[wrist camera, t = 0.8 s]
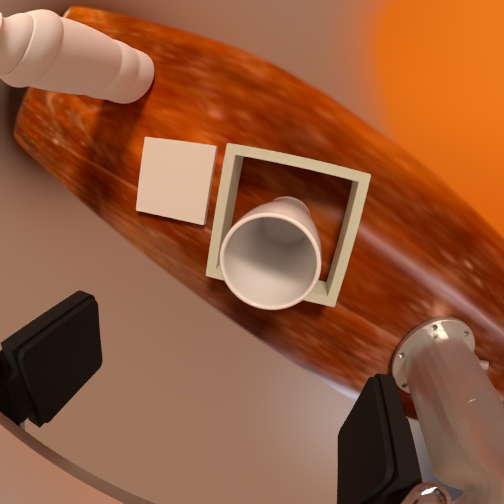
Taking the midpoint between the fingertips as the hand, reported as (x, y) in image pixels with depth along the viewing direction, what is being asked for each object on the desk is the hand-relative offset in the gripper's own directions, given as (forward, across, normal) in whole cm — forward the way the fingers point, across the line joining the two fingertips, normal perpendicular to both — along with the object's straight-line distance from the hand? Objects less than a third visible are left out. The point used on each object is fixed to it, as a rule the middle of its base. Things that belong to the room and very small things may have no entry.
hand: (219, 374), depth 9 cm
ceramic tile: (+26, +14, -2) cm, 29 cm away
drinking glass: (+26, 0, 0) cm, 26 cm away
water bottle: (+26, +22, -14) cm, 37 cm away
